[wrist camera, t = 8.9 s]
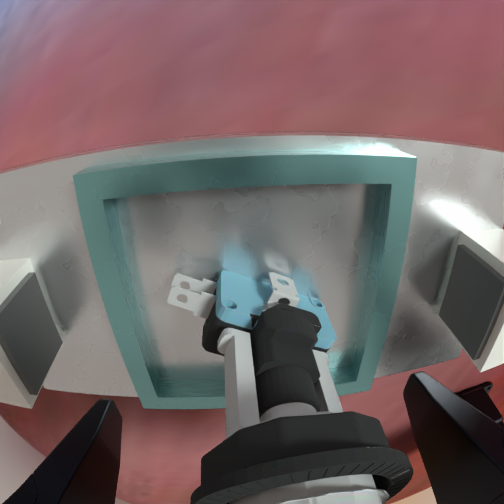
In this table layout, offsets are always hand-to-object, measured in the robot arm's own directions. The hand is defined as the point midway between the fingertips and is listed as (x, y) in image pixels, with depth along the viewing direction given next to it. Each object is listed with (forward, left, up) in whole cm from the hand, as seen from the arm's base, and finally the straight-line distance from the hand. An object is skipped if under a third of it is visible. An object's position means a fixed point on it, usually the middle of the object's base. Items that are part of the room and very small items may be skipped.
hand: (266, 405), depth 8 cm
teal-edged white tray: (0, 0, -7) cm, 7 cm away
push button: (0, 0, -6) cm, 6 cm away
